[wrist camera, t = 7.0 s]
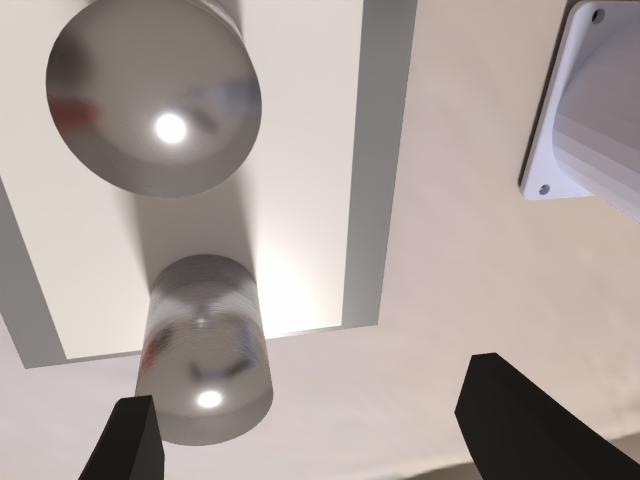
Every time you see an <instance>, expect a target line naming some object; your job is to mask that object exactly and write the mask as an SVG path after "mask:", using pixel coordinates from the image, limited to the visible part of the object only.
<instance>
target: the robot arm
mask: <svg viewBox="0 0 640 480" xmlns="http://www.w3.org/2000/svg"><path fill="white" fill-rule="evenodd" d="M596 10H597V11H598V14H597V17H596V19H595V20H594V21H593V22H592V16H593V14H594V12H595V11H596ZM543 185H545V186H544V188H543V189H542V190H540V188H541V187H542V186H543ZM539 190H540V191H539ZM520 194H521V195H522V196H523V197H524V198H526V199H527V200H539V199H552V198H565V197H578V196H591V195H596V196H597V197H599V198H600V199H602V200H603V201H605V202H607V203H608V204H610V205H611V206H613V207H614V208H616V209H618V210H619V211H621V212H622V213H624V214H626V215H627V216H629V217H630V218H632V219H633V220H635V221H637V222H638V223H640V1H611V0H583V1H579V2H578V3H576V4H575V5H574V6H573V8H572V9H571V10H570V13H569V15H568V18H567V22H566V26H565V29H564V33H563V36H562V40H561V43H560V47H559V51H558V54H557V58H556V61H555V65H554V68H553V72H552V76H551V79H550V83H549V86H548V90H547V93H546V97H545V101H544V104H543V108H542V111H541V115H540V118H539V122H538V126H537V129H536V133H535V136H534V140H533V143H532V147H531V151H530V154H529V158H528V161H527V165H526V168H525V172H524V176H523V179H522V183H521V186H520ZM454 413H455V415H456V418H457V421H458V424H459V426H460V429H461V432H462V435H463V437H464V440H465V442H466V445H467V447H468V450H469V452H470V455H471V457H472V459H473V461H474V463H475V465H476V466H477V468H478V470H479V472H480V474H481V476H482V478H483V480H640V464H638V463H637V462H635V461H634V460H633V459H631V458H630V457H628V456H627V455H626V454H624V453H623V452H622V451H620V450H619V449H617V448H616V447H615V446H613V445H612V444H610V443H609V442H608V441H606V440H605V439H604V438H602V437H601V436H600V435H598V434H597V433H596V432H594V431H593V430H592V429H590V428H589V427H588V426H587V425H585V424H584V423H583V422H581V421H580V420H579V419H578V418H576V417H575V416H574V415H572V414H571V413H570V412H569V411H567V410H566V409H565V408H564V407H562V406H561V405H560V404H559V403H557V402H556V401H555V400H554V399H552V398H551V397H550V396H549V395H548V394H546V393H545V392H544V391H543V390H541V389H540V388H539V387H538V386H536V385H535V384H534V383H533V382H532V381H530V380H529V379H528V378H527V377H525V376H524V375H523V374H522V373H521V372H519V371H518V370H517V369H516V368H514V367H513V366H512V365H511V364H509V363H508V362H507V361H506V360H504V359H503V358H502V357H501V356H499V355H498V354H497V353H487V354H479V355H472V357H471V360H470V363H469V367H468V370H467V373H466V376H465V380H464V383H463V386H462V389H461V393H460V396H459V399H458V402H457V406H456V409H455V412H454ZM164 459H165V455H164V450H163V445H162V440H161V435H160V431H159V426H158V421H157V416H156V411H155V406H154V401H153V397H152V395H145V396H137V397H129V398H121V399H120V400H119V401H118V402H116V404H115V406H114V408H113V411H112V413H111V415H110V418H109V420H108V422H107V424H106V426H105V428H104V430H103V432H102V435H101V437H100V439H99V441H98V443H97V445H96V447H95V449H94V450H93V452H92V454H91V456H90V458H89V460H88V462H87V464H86V466H85V468H84V470H83V471H82V473H81V475H80V477H79V479H78V480H164Z"/></svg>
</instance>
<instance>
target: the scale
mask: <svg viewBox="0 0 640 480" xmlns="http://www.w3.org/2000/svg"><path fill="white" fill-rule="evenodd" d="M95 1H97V0H0V312H1V315H2V317H3V319H4V322H5V324H6V326H7V328H8V331H9V333H10V335H11V338H12V340H13V342H14V344H15V347H16V349H17V351H18V354H19V356H20V358H21V360H22V363H23V365H24V367H25V369H28V368H36V367H44V366H52V365H60V364H68V363H76V362H84V361H92V360H100V359H108V358H116V357H124V356H132V355H140V354H141V353H142V347H143V340H144V334H145V328H146V321H147V315H148V309H149V303H150V296H151V291H152V287H153V284H154V282H155V280H156V278H157V277H158V275H159V274H160V273H161V272H162V271H163V270H164V269H165V268H166V267H168V266H169V265H170V264H172V263H174V262H176V261H177V260H180V259H182V258H185V257H188V256H192V255H199V254H213V255H220V256H224V257H227V258H230V259H232V260H235V261H236V262H238V263H240V264H241V265H243V266H244V267H245V268H246V269H247V270H248V271H249V272H250V273H251V275H252V276H253V278H254V280H255V282H256V285H257V289H258V295H259V302H260V309H261V315H262V322H263V328H264V335H265V339H269V338H277V337H285V336H293V335H301V334H309V333H317V332H325V331H333V330H341V329H349V328H357V327H365V326H373V325H378V317H379V309H380V301H381V293H382V284H383V276H384V268H385V260H386V252H387V244H388V236H389V227H390V219H391V211H392V203H393V195H394V187H395V179H396V170H397V162H398V154H399V146H400V138H401V130H402V122H403V113H404V105H405V97H406V89H407V81H408V73H409V65H410V56H411V48H412V40H413V32H414V24H415V16H416V8H417V0H218V1H220V3H221V4H222V5H223V6H224V7H225V8H226V9H227V11H228V12H229V14H230V15H231V16H232V18H233V20H234V21H235V23H236V25H237V27H238V30H239V32H240V35H241V37H242V40H243V42H244V44H245V47H246V49H247V52H248V54H249V57H250V59H251V62H252V64H253V67H254V69H255V72H256V74H257V78H258V81H259V85H260V90H261V98H262V116H261V124H260V129H259V132H258V136H257V139H256V141H255V144H254V146H253V148H252V150H251V152H250V153H249V155H248V157H247V158H246V160H245V161H244V162H243V164H242V165H241V166H240V167H239V168H238V169H237V170H236V171H235V172H234V173H233V174H232V175H231V176H230V177H228V178H227V179H226V180H224V181H223V182H222V183H220V184H218V185H216V186H215V187H213V188H211V189H208V190H206V191H203V192H201V193H198V194H194V195H190V196H184V197H178V198H157V197H149V196H144V195H138V194H135V193H132V192H129V191H126V190H123V189H121V188H119V187H116V186H114V185H112V184H110V183H109V182H107V181H105V180H103V179H101V178H100V177H99V176H97V175H96V174H94V173H93V172H92V171H90V170H89V169H88V168H87V167H86V166H85V165H84V164H82V163H81V162H80V161H79V160H78V159H77V157H76V156H75V155H74V154H73V153H72V152H71V151H70V149H69V148H68V146H67V145H66V144H65V142H64V141H63V139H62V138H61V136H60V134H59V132H58V130H57V128H56V126H55V124H54V121H53V119H52V116H51V113H50V110H49V106H48V101H47V95H46V84H45V83H46V69H47V64H48V59H49V55H50V52H51V50H52V47H53V45H54V42H55V40H56V39H57V37H58V35H59V34H60V32H61V30H62V29H63V28H64V27H65V25H66V24H67V23H68V22H69V21H70V20H71V18H73V17H74V16H75V15H76V14H77V13H79V12H80V11H81V10H82V9H84V8H85V7H87V6H89V5H90V4H92V3H94V2H95Z"/></svg>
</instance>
